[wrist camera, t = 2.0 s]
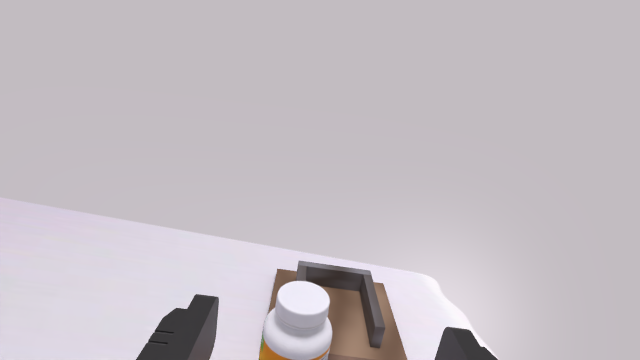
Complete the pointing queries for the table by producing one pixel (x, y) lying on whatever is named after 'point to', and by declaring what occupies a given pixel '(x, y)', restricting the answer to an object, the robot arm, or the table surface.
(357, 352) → the u holder
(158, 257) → the table surface
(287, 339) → the supplement bottle
